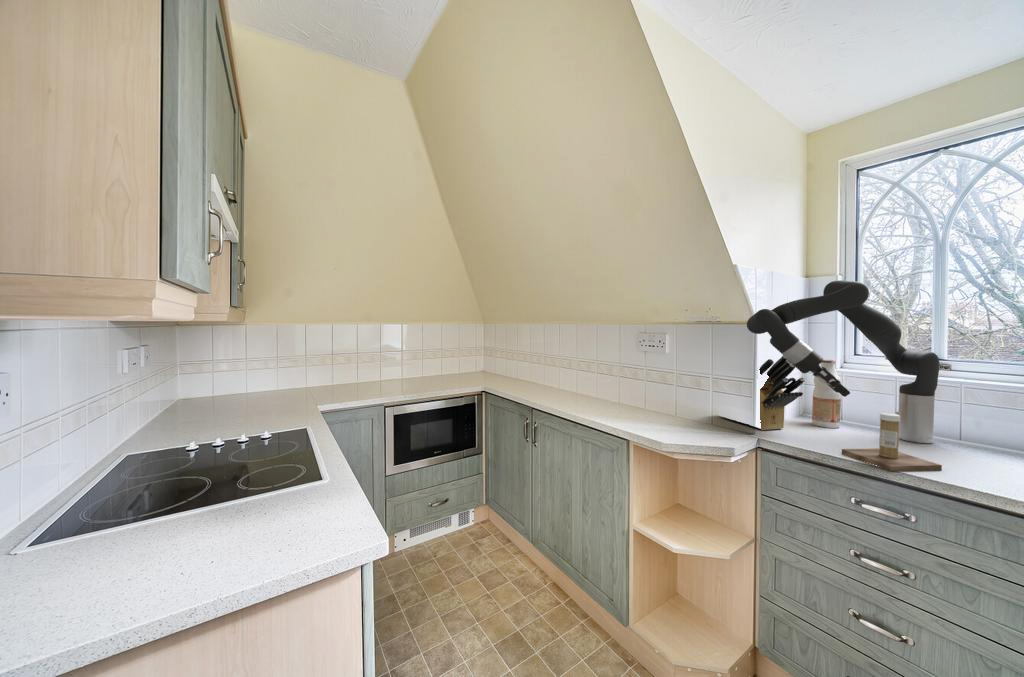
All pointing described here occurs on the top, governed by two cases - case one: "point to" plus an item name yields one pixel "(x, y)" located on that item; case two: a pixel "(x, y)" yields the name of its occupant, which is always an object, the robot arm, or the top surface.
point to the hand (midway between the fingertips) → (843, 392)
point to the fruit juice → (826, 400)
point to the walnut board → (892, 460)
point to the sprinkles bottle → (889, 435)
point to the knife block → (777, 393)
